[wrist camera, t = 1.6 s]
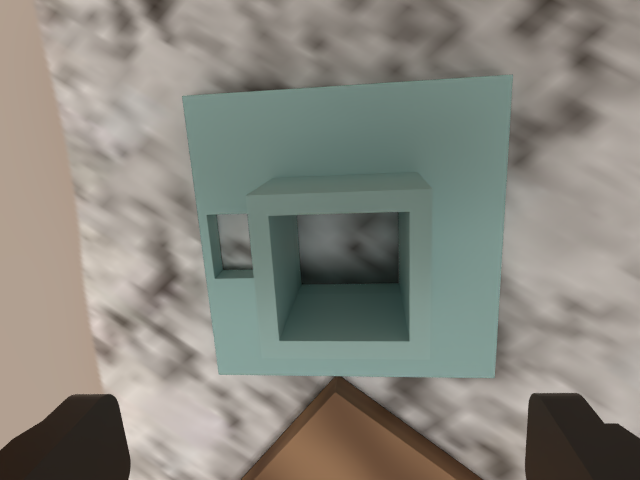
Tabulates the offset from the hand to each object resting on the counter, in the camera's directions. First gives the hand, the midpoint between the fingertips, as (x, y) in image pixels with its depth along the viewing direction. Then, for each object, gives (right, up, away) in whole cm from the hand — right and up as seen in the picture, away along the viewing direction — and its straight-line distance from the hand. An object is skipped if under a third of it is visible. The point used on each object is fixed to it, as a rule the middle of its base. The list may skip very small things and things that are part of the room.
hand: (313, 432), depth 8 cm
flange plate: (+1, +4, +12) cm, 12 cm away
